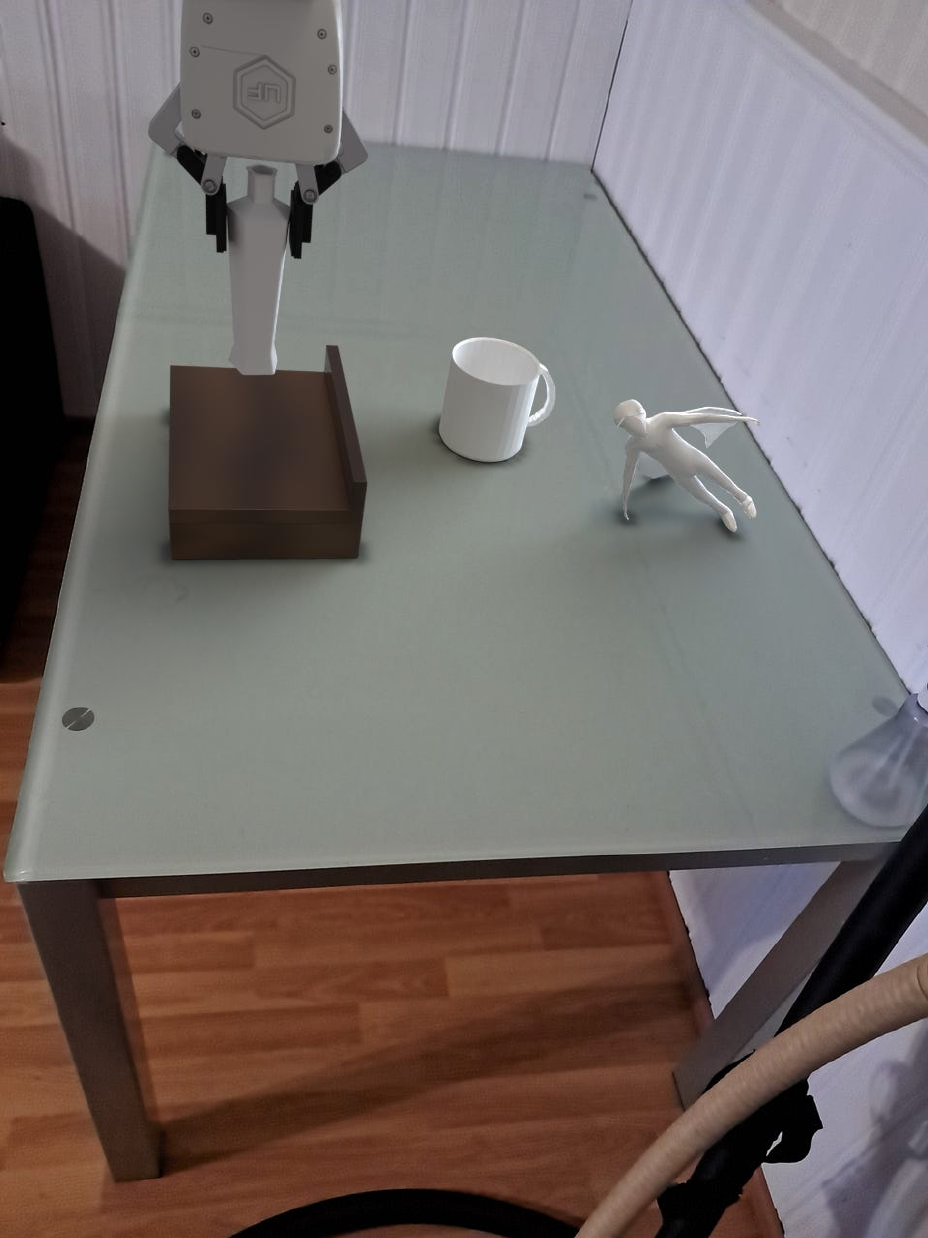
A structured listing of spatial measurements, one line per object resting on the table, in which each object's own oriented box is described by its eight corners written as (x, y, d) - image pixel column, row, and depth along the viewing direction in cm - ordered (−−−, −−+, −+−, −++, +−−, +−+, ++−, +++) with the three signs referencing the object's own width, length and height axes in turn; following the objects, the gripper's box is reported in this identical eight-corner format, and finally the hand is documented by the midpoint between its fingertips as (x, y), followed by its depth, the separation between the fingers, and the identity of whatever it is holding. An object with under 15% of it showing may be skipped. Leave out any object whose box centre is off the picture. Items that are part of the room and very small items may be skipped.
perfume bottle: (256, 386, 74) (265, 189, 63) (214, 361, 75) (216, 165, 65) (296, 366, 77) (311, 175, 67) (255, 343, 78) (263, 152, 68)
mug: (443, 460, 98) (458, 381, 92) (433, 411, 105) (447, 333, 98) (555, 467, 101) (577, 390, 95) (539, 418, 107) (558, 343, 101)
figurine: (783, 420, 100) (670, 301, 89) (816, 487, 93) (697, 367, 81) (662, 507, 108) (544, 407, 96) (684, 575, 100) (558, 476, 89)
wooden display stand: (171, 559, 81) (166, 479, 76) (172, 413, 96) (168, 336, 90) (358, 558, 86) (367, 482, 80) (331, 418, 100) (338, 345, 95)
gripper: (109, -61, 52) (132, 262, 65) (414, -13, 56) (380, 280, 69) (117, -89, 57) (137, 215, 70) (396, -44, 62) (368, 234, 74)
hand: (258, 244), depth 69 cm, fingers closed on perfume bottle, 4 cm apart
